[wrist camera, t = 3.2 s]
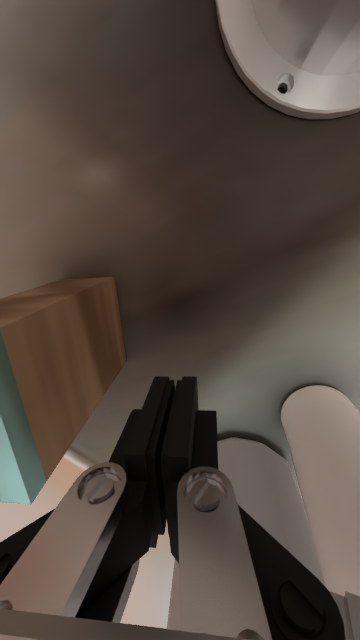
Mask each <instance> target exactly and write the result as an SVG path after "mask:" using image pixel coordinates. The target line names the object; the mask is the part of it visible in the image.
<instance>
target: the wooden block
mask: <svg viewBox="0 0 360 640" xmlns="http://www.w3.org/2000/svg"><path fill="white" fill-rule="evenodd" d="M126 361H127V359H126V352H125V345H124V338H123V331H122V324H121V318H120V311H119V304H118V297H117V290H116V283H115V276H111V277H90V278H70V279H62V280H59V281H56V282H53V283H49V284H46V285H43V286H40V287H37V288H33V289H30V290H27V291H24V292H21V293H18V294H14V295H11V296H8V297H5V298H2V299H0V502H5V503H17V504H32V502H33V501H34V499H35V498H36V496H37V495H38V493H39V492H40V490H41V489H42V487H43V486H44V484H45V483H46V481H47V480H48V478H49V477H50V475H51V474H52V472H53V471H54V469H55V468H56V466H57V465H58V463H59V462H60V460H61V459H62V457H63V456H64V454H65V453H66V451H67V450H68V448H69V447H70V445H71V444H72V442H73V441H74V439H75V438H76V436H77V435H78V433H79V432H80V430H81V429H82V427H83V426H84V424H85V423H86V421H87V420H88V418H89V417H90V415H91V414H92V412H93V411H94V409H95V408H96V406H97V405H98V403H99V402H100V400H101V399H102V397H103V396H104V394H105V393H106V391H107V390H108V388H109V387H110V385H111V384H112V382H113V381H114V379H115V378H116V376H117V375H118V373H119V372H120V370H121V369H122V367H123V366H124V364H125V363H126Z"/></svg>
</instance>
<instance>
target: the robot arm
mask: <svg viewBox="0 0 360 640" xmlns="http://www.w3.org/2000/svg"><path fill="white" fill-rule="evenodd" d="M215 2H216V10H217V18H218V26H219V29H220V33H221V36H222V39H223V43H224V46H225V49H226V52H227V54H228V56H229V58H230V60H231V62H232V64H233V66H234V68H235V70H236V72H237V74H238V75H239V77H240V78H241V79H242V80H243V82H244V83H245V84H246V86H247V87H248V88H249V89H250V91H251V92H252V93H254V94H255V95H256V96H257V97H258V98H260V99H261V100H262V101H263V102H265V103H266V104H267V105H268V106H270V107H272V108H274V109H276V110H279V111H281V112H283V113H285V114H287V115H291V116H295V117H300V118H305V119H333V118H337V117H342V116H346V115H351V114H355V113H357V112H359V111H360V0H215ZM280 87H283V88H284V89H285V91H286V93H285V94H282V93H280V92H279V91H278V90H277V89H278V88H280ZM166 520H167V524H168V533H169V537H170V547H171V553H172V555H173V556H174V558H175V559H176V561H177V562H178V564H179V576H180V610H181V631H178V630H170V629H163V628H155V627H147V626H139V625H131V624H122V623H120V621H121V618H122V615H123V612H124V609H125V606H126V603H127V600H128V598H129V594H130V592H131V588H132V586H133V583H134V580H135V577H136V574H137V571H138V566H139V559H140V558H141V557H142V556H143V555H144V554H145V553H147V552H148V551H149V547H153V548H156V544H157V539H158V534H160V535H163V534H164V532H165V527H166ZM0 640H360V596H357V595H355V594H352V593H349V592H345V597H344V596H342V595H339V594H336V593H333V592H331V591H328V589H327V588H326V587H325V586H324V585H323V584H322V583H321V581H320V580H319V579H318V578H317V577H316V576H315V575H314V574H312V573H311V572H310V571H309V570H308V569H307V568H306V567H305V566H304V565H303V564H302V563H301V562H300V561H298V560H297V559H296V558H295V557H294V556H293V555H292V554H291V553H290V552H289V551H288V550H287V549H285V548H284V547H283V546H282V545H281V544H280V543H279V542H278V541H277V540H276V539H275V538H274V537H273V536H271V535H270V534H269V533H268V532H267V531H266V530H265V529H264V528H263V527H262V526H261V525H260V524H259V523H257V522H256V521H255V520H254V519H253V518H252V517H251V516H250V515H249V514H248V513H247V512H246V511H245V510H243V509H242V508H241V507H240V506H239V505H238V504H237V501H236V497H235V493H234V489H233V486H232V484H231V482H230V480H229V479H228V477H227V476H226V475H225V474H224V473H222V472H221V471H219V470H218V446H217V418H216V411H200V410H198V392H197V377H183V378H182V380H178V381H177V385H176V389H175V385H174V380H169V377H155V378H154V380H153V382H152V385H151V387H150V390H149V392H148V395H147V397H146V400H145V402H144V405H143V407H142V410H140V409H134V410H132V412H131V414H130V416H129V418H128V420H127V423H126V425H125V427H124V429H123V431H122V434H121V436H120V438H119V440H118V442H117V445H116V447H115V449H114V451H113V454H112V456H111V458H110V460H109V462H104V463H99V464H96V465H94V466H92V467H90V468H88V469H87V470H85V471H84V472H83V473H82V474H81V475H80V476H79V477H78V478H77V479H76V481H75V482H74V483H73V485H72V486H71V488H70V489H69V491H68V492H67V493H66V495H65V496H64V497H63V499H62V500H61V501H60V503H59V504H58V506H57V507H56V508H55V509H54V510H52V511H50V512H49V513H47V514H46V515H44V516H42V517H41V518H39V519H38V520H36V521H34V522H33V523H31V524H29V525H28V526H26V527H24V528H23V529H21V530H20V531H18V532H16V533H15V534H13V535H12V536H10V537H8V538H7V539H5V540H4V541H2V542H0Z"/></svg>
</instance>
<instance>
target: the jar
mask: <svg viewBox="0 0 360 640" xmlns="http://www.w3.org/2000/svg"><path fill="white" fill-rule="evenodd" d="M217 446H218V470H219V471H221V472H222V473H224V474H225V475H226V476H227V477H228V479H229V480H230V482H231V484H232V486H233V489H234V493H235V497H236V501H237V504H238V505H239V506H240V507H241V508H242V509H243V510H245V511H246V512H247V513H248V514H249V515H250V516H251V517H252V518H253V519H254V520H255V521H256V522H257V523H259V524H260V525H261V526H262V527H263V528H264V529H265V530H266V531H267V532H268V533H269V534H270V535H271V536H273V537H274V538H275V539H276V540H277V541H278V542H279V543H280V544H281V545H282V546H283V547H284V548H285V549H287V550H288V551H289V552H290V553H291V554H292V555H293V556H294V557H295V558H296V559H297V560H298V561H300V562H301V563H302V564H303V565H304V566H305V567H306V568H307V569H308V570H309V571H310V572H311V573H312V574H314V575H315V576H316V577H317V578H318V579H319V580H320V581H321V583H322V584H323V580H322V577H321V573H320V569H319V565H318V561H317V557H316V553H315V549H314V545H313V541H312V537H311V533H310V529H309V524H308V520H307V516H306V512H305V508H304V504H303V501H302V498H301V495H300V492H299V489H298V487H297V484H296V481H295V478H294V476H293V473H292V471H291V468H290V466H289V463H288V461H287V460H286V459H284V458H283V457H281V456H280V455H279V454H277V453H276V452H274V451H273V450H271V449H270V448H269V447H267V446H266V445H264V444H262V443H260V442H258V441H253V440H247V439H241V438H236V437H231V438H227V439H223V440H219V441H217ZM323 585H324V584H323ZM167 629H170V630H178V631H181V610H180V576H179V564H178V562H177V561H176V559H175V562H174V571H173V580H172V589H171V598H170V607H169V616H168V624H167Z"/></svg>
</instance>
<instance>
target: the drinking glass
mask: <svg viewBox="0 0 360 640" xmlns="http://www.w3.org/2000/svg"><path fill="white" fill-rule="evenodd" d="M281 422H282V425H283V428H284V431H285V434H286V437H287V440H288V444H289V448H290V452H291V455H292V459H293V463H294V467H295V471H296V475H297V479H298V483H299V488H300V492H301V496H302V500H303V504H304V508H305V512H306V516H307V520H308V524H309V529H310V533H311V537H312V541H313V545H314V549H315V553H316V557H317V561H318V565H319V569H320V573H321V577H322V580H323V584H324V586H325V587H326V588H327V589H328V591H331V592H333V593H336V594H339V595H342V596H344V597H345V592H349V593H352V594H355V595H357V596H360V412H359V411H358V410H357V408H356V407H355V406H354V405H353V404H352V402H351V401H350V400H349V399H348V398H347V397H346V396H345V395H344V394H343V393H341V392H340V391H338V390H336V389H334V388H331V387H328V386H322V385H313V386H307V387H304V388H301V389H299V390H297V391H295V392H294V393H292V394H291V395H290V396H289V397H288V398H287V399H286V401H285V402H284V404H283V406H282V410H281Z"/></svg>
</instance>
